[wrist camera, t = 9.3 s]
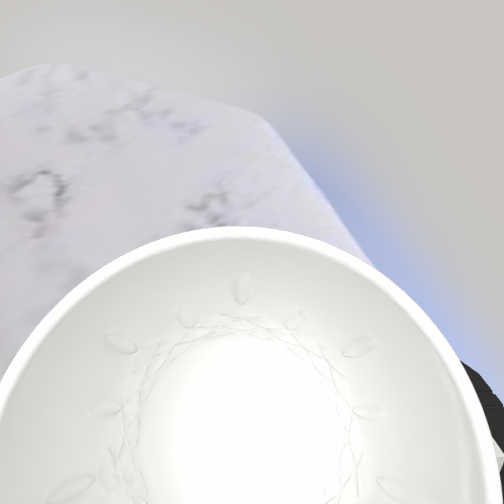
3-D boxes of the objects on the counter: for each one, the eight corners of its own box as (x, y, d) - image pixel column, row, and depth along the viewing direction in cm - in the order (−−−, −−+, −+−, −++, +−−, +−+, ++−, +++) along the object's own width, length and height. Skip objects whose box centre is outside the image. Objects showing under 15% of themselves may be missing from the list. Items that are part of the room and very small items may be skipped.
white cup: (337, 323, 17) (462, 229, 8) (350, 553, 15) (562, 842, 5) (140, 319, 17) (18, 219, 7) (117, 552, 14) (-114, 855, 5)
